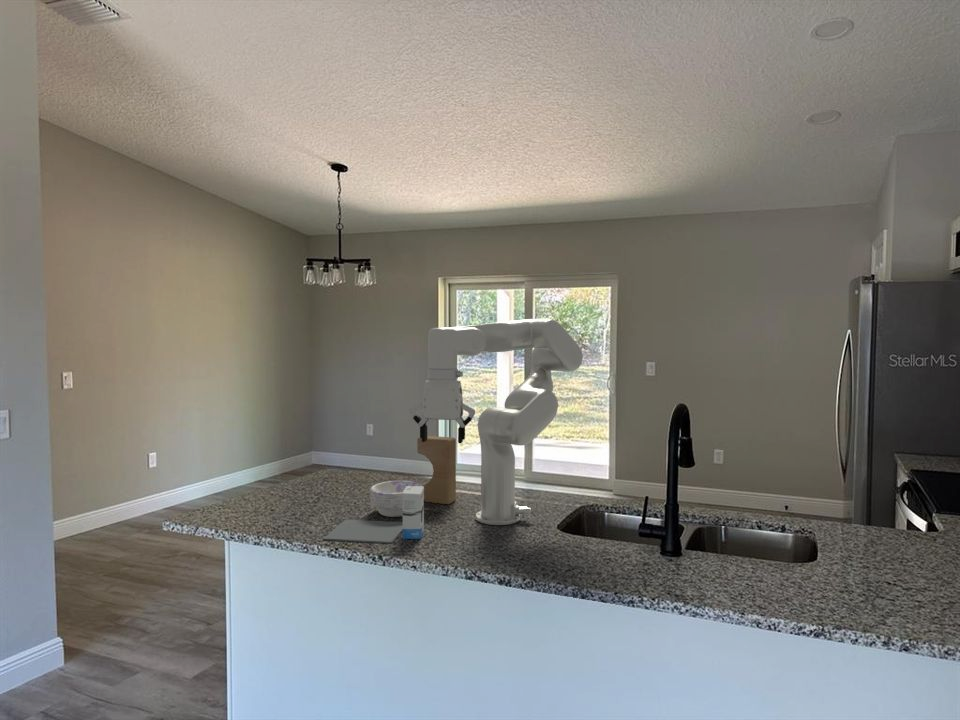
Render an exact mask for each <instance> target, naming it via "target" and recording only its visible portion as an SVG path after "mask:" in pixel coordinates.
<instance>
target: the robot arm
mask: <svg viewBox="0 0 960 720" xmlns="http://www.w3.org/2000/svg"><path fill="white" fill-rule="evenodd" d="M427 336H428V337H427V338H428V340H427V341H428V342H427V347H428V348H427V352H428V353H427V357H428V358H427V361H428V362H427V365H428V366H427V379H428V380H425V383H424V388H423V396H422V397H423V398H422V402H421V403H419V404H417V405H415V406H414V407H412V408H410V409H409V413H410V415H411V416H412V419H413V421H414V422H415V423H416V424H417V425H418V426H419V437H420V438H422V442H425V441H426V440H427V436H428V425H427V423H428V421H429V420H434V421H435V420H439V421H443V420H444V421H446V420H447V421H455V422H456V423H457V424H458V425H459V427H458V428H457V443H458V444H462V443H463V441H465V439H466V426H468V424H470V422H471V421H472V420H473V418H474V416H475V414H476V412H477V411H476V410H475V408H472V407H471V406H469V405H467V404H465V403H464V398H463V396H464V395H463V389H462V383H461V380H458V379H459V378H460V377H461V378H462V377H464V372H463V371H460V370H459V369H458V356H464V357H465V356H466V357H473V356H477V355H479V354H481V353H484V352H485V353H486V352H488V353H506V352H512V351H519V350H525V349H532V352H531V354H530V372H529V376H528V377H527V378H525V380H524V381H522V382H521V383H520V384H519V385H518V386H517V387H516V388H514V390H512V391H511V392H510V393H509V394H508V395H507V397H506V399H505V401H504V407H498V406H497V407H489V408H486V409H484V410H483V411H482V412H481V413H480V415H479V417H478V420H477V431H478V437H479V443H480V451H481V452H480V458H481V460H480V461H481V464H480V467H481V468H480V469H481V471H480V474H481V476H480V477H481V478H480V480H481V481H480V482H481V483H480V487H481V489H480V499H481V500H480V507H481V508H480V510H479V511H478V512H476V513H475V520H476V521H477V522H479V523H481V524H485V525H489V526H491V525H492V526H508V525H513V524H516V523H518V522H519V521H520V520H521V515H524V516H530V515H531V511H532V510H531V507H528V506H525V505H524V506H519V505H518V504H517V501H516V500H515V498H516V496H515V493H516V492H515V491H516V487H515V486H516V485H515V484H516V457H515V455H516V454H515V450H514V448H513V445H514V446H526V445H528V444H530V443H531V442H533V441H534V439H536V438H537V437H538V436H539V435H540V434H541V433H542V432H544V430H545V429H547V427H548V426H549V425H550V424H551V423H552V422H553V420H554V419H555V418H556V415H557V413H558V409H559V402H558V397H557V396H556V394H555V393H554V392H553V390H554V383H553V379H552V378H553V377H552V372H566V373H567V372H575V371H577V370H579V368H580V367H581V366H582V364H583V360H584V359H583V357H584V356H583V351H582V349H581V347H580V345H579V344H578V343H577V342H576V340H575V339H574V338H573V337H572V336H571V334H570V333H569V332H568V330H566V328H564V326H563V325H561V323H559V322H558V321H557V320H555V319H553V318H526V319H518V320H506V321H497V322H489V323H482V324H473V325H462V326H460V325H459V326H452V327H432V328H430V329H429V331H428V334H427ZM421 409H422V410H421ZM420 410H421V411H422V418H421V416H420V415H419V414H418V411H420ZM464 411H465V412H467V413H468V415H467V417H466V418H465V419H464V418H463V415H464Z"/></svg>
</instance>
